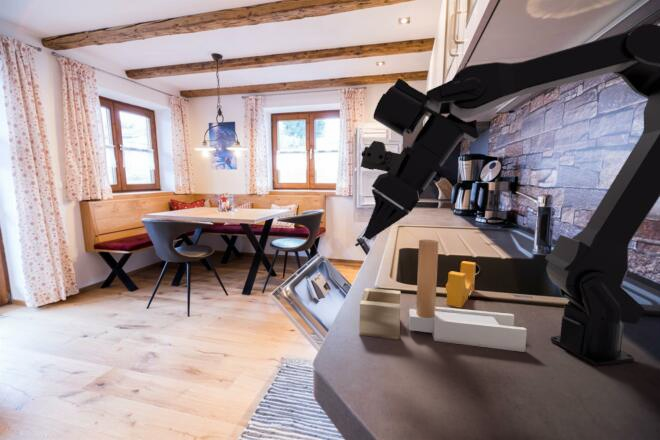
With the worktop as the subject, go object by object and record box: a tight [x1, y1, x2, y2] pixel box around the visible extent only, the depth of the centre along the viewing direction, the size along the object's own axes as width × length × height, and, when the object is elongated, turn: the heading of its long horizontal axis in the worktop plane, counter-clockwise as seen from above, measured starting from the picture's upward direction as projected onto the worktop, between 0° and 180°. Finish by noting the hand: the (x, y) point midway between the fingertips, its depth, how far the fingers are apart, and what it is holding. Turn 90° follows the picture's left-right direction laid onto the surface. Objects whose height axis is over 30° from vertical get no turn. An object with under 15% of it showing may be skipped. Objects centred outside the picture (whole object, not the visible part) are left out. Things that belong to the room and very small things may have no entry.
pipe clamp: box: [445, 260, 477, 309], centre depth 61 cm, size 12×4×6 cm, turn 143°
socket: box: [358, 287, 401, 341], centre depth 47 cm, size 6×7×5 cm
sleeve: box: [431, 306, 528, 353], centre depth 44 cm, size 12×5×3 cm, turn 76°
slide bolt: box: [408, 239, 499, 334], centre depth 44 cm, size 12×3×14 cm, turn 76°
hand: (371, 233), depth 49 cm, fingers open, 9 cm apart
